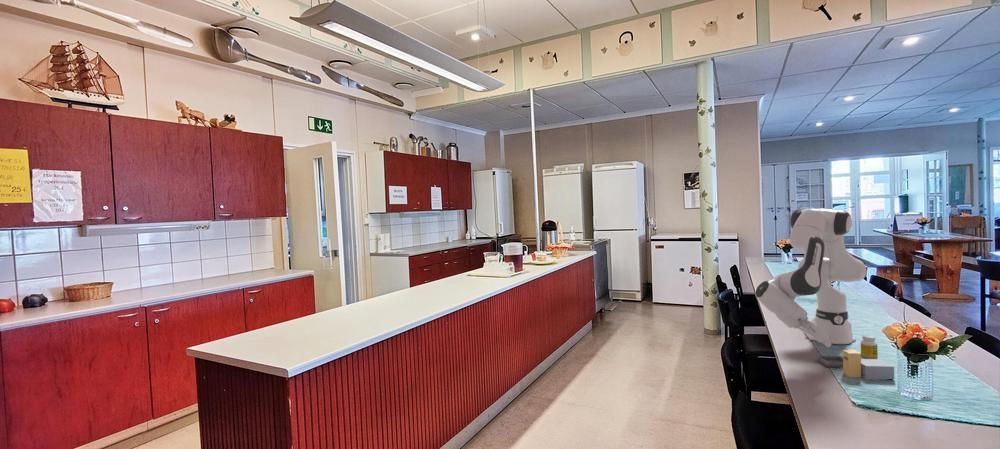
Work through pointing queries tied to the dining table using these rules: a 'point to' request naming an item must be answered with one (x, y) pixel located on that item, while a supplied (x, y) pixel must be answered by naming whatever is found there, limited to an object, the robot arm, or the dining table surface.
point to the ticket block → (876, 369)
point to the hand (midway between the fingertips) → (822, 341)
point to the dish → (831, 361)
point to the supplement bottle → (868, 347)
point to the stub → (852, 363)
